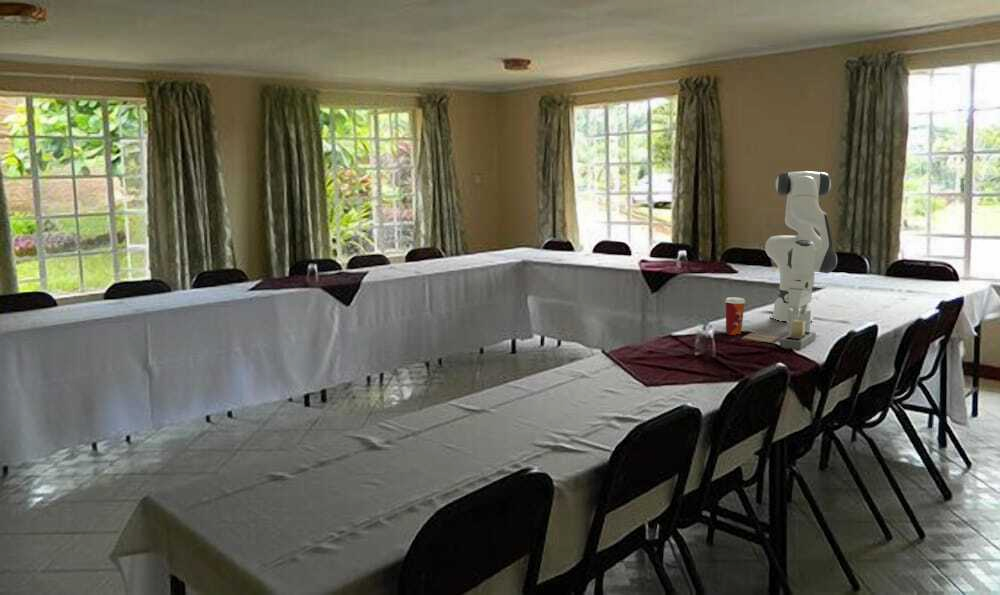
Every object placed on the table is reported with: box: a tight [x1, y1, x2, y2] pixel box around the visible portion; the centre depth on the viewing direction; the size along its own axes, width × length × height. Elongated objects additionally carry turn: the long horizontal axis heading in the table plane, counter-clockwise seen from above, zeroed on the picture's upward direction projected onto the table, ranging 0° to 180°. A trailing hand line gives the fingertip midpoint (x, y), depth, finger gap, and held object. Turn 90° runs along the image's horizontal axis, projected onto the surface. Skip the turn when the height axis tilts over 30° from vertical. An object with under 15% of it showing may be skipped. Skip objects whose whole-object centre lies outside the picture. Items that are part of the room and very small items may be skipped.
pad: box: [740, 332, 781, 344], centre depth 315 cm, size 12×12×1 cm
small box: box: [786, 308, 812, 334], centre depth 326 cm, size 8×6×10 cm
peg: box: [792, 320, 806, 338], centre depth 308 cm, size 4×4×9 cm
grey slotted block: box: [778, 331, 817, 351], centre depth 309 cm, size 22×8×3 cm, turn 144°
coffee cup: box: [724, 296, 746, 336], centre depth 326 cm, size 8×8×15 cm
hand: (799, 316), depth 307 cm, fingers open, 8 cm apart
